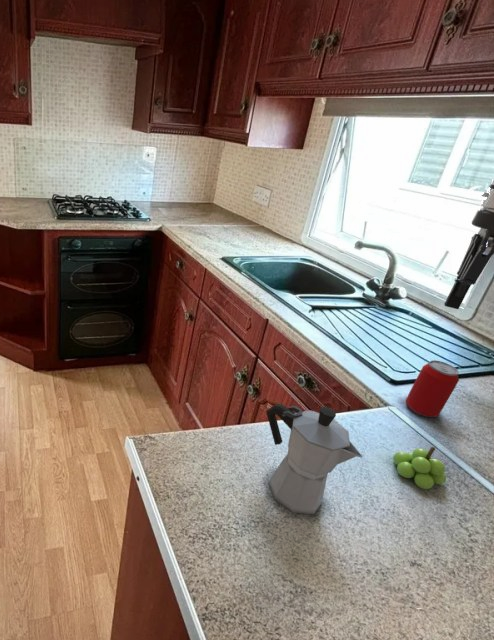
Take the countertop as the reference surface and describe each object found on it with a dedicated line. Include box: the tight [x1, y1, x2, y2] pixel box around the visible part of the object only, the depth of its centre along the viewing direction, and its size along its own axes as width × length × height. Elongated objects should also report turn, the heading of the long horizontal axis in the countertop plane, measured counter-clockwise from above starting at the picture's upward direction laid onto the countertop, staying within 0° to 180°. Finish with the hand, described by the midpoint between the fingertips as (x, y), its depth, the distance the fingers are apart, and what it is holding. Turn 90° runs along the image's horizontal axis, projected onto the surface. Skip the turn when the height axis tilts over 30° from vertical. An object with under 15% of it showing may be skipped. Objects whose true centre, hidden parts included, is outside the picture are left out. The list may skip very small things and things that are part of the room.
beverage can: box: [405, 359, 460, 418], centre depth 92 cm, size 7×7×12 cm
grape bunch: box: [392, 446, 447, 490], centre depth 74 cm, size 8×8×7 cm
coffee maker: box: [266, 403, 363, 515], centre depth 66 cm, size 15×9×18 cm, turn 43°
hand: (451, 306), depth 99 cm, fingers closed
